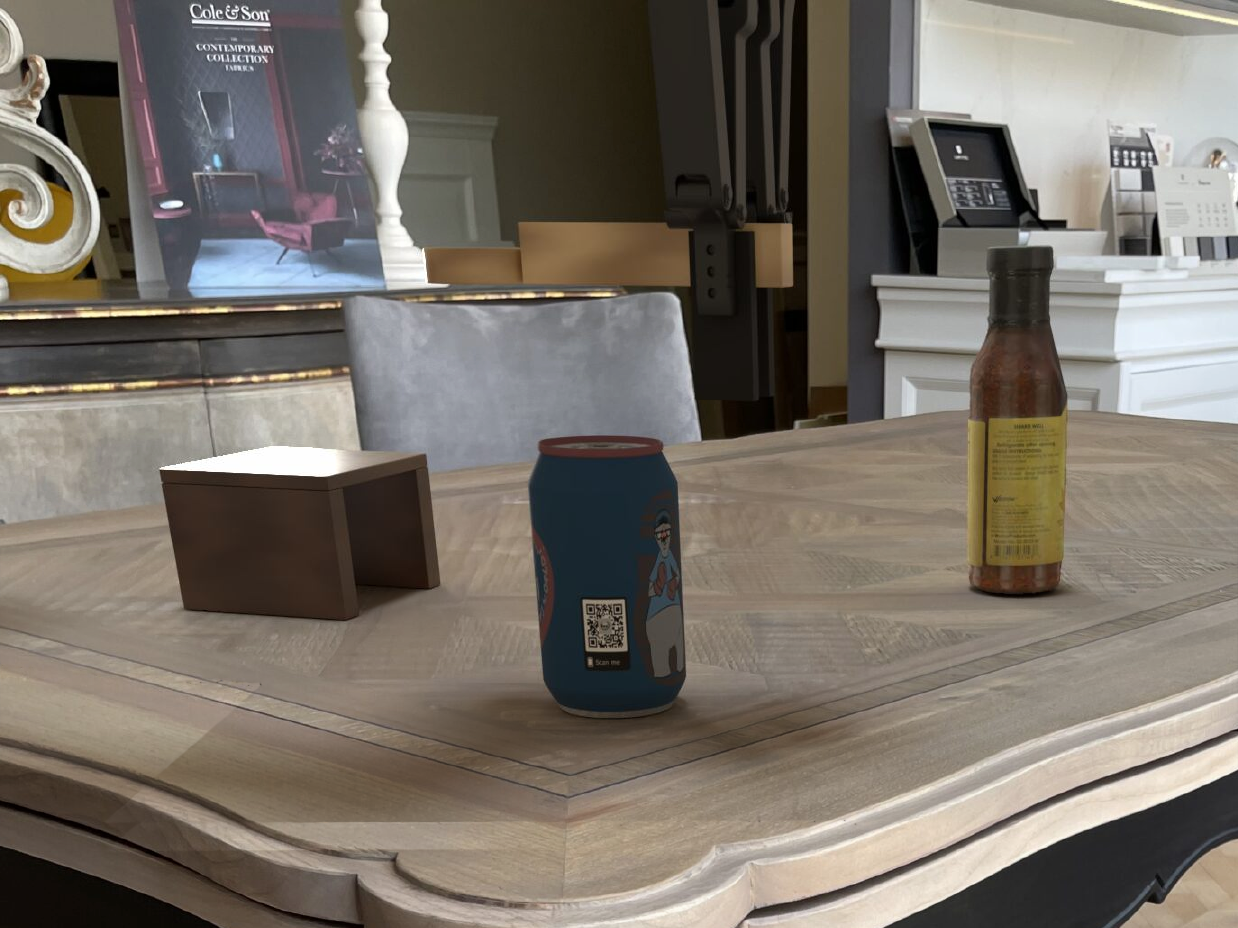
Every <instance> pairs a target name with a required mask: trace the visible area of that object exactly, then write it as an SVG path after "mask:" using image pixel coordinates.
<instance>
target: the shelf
mask: <svg viewBox="0 0 1238 928" xmlns="http://www.w3.org/2000/svg"><path fill="white" fill-rule="evenodd" d="M427 456H428V455H427V453H426V452H407V451H385V450H384V451H383V450H361V449H337V448H315V447H314V448H313V447H291V446H290V447H289V446H268V447H264V448H259V449H253V450H248V451H242V452H238V453H233V454H227V455H223V456H217V457H212V458H206V459H202V460H197V461H191V462H185V463H182V464H181V463H180V464H176V465H170V466H165V467H161V468H159V477H160V482H161V489H162V495H163V500H164V506H165V510H166V511H165V512H166V517H167V522H168V528H169V531H170V532H169V534H170V539H171V545H172V550H173V551H172V552H173V555H174V561H175V567H176V571H177V579H178V584H179V589H180V595H181V600H182V605H183V609H184V610H187V611H188V610H190V611H203V610H207V611H206V612H218V611H220V612H219V613H232V612H233V613H234V614H248V615H249V614H250V615H263V616H278V617H292V618H293V617H295V618H305V619H306V618H307V619H309V618H310V619H321V620H337V621H348V620H349V619H354V618H355V617H357V616H360V612H359V611H360V610H359V605H358V596H357V588H356V585H360V586H361V585H362V586H378V587H394V588H410V589H425V590H427V589H428V590H429V589H433V588H435V587H437V586H441V584H442V583H441V575H440V565H439V557H438V546H437V538H436V528H435V520H434V510H433V502H432V501H433V500H432V493H431V483H430V472H429V467H428V457H427Z"/></svg>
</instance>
